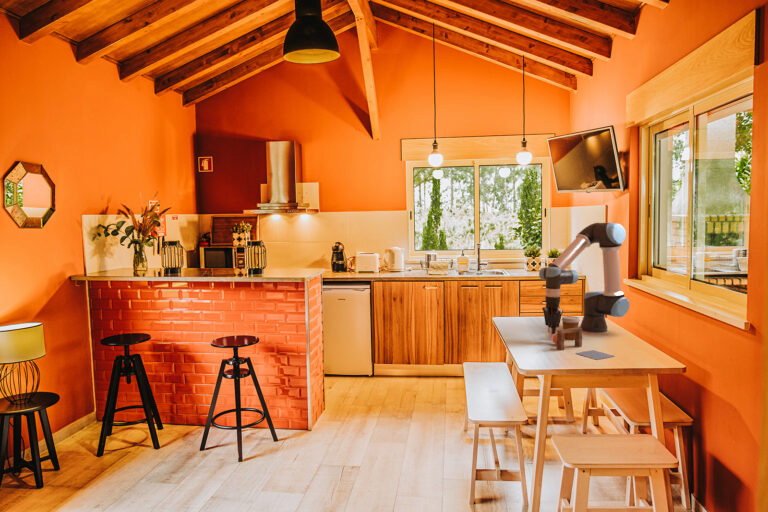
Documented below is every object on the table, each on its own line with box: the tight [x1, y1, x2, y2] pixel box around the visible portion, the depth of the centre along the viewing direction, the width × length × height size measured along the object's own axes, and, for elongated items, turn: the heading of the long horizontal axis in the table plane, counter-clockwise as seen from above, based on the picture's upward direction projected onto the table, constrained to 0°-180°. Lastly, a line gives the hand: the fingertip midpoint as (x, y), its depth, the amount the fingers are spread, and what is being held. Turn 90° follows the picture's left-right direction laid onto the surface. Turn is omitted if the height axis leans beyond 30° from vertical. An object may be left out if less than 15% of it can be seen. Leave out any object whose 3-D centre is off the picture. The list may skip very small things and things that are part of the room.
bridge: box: [556, 326, 583, 351], centre depth 268 cm, size 3×15×10 cm, turn 118°
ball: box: [552, 333, 566, 346], centre depth 275 cm, size 6×6×6 cm
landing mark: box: [575, 349, 615, 361], centre depth 255 cm, size 13×13×1 cm
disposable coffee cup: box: [561, 315, 581, 341], centre depth 288 cm, size 10×10×12 cm
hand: (551, 339), depth 279 cm, fingers closed
